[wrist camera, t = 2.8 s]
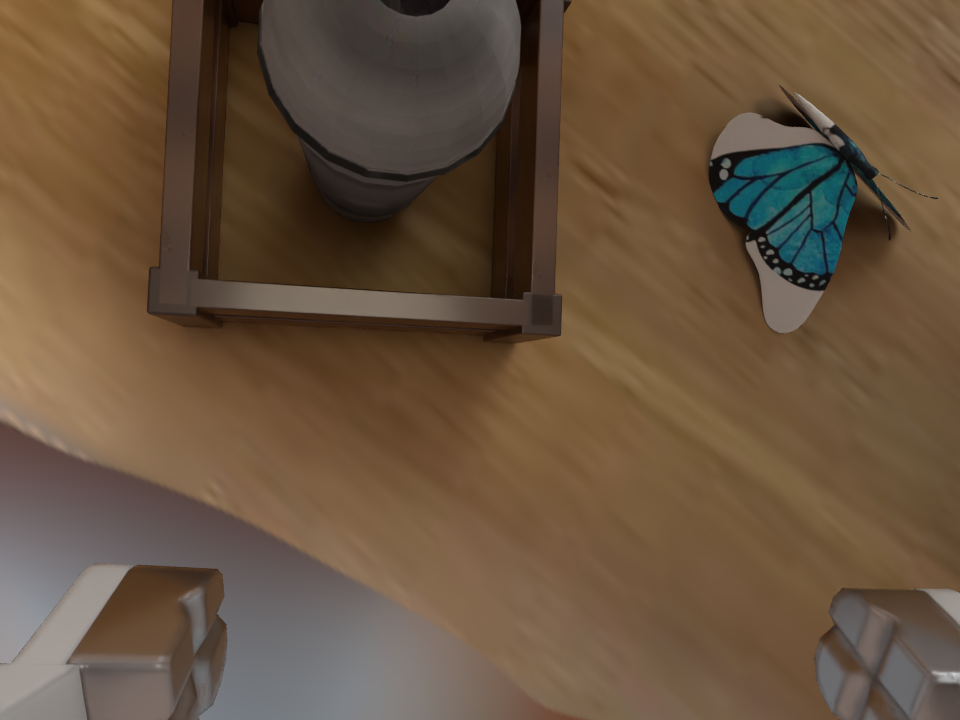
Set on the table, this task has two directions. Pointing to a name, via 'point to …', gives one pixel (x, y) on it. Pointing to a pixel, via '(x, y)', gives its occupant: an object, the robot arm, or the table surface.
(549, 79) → the crate
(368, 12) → the beverage cup
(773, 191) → the decorative butterfly
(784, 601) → the table surface
